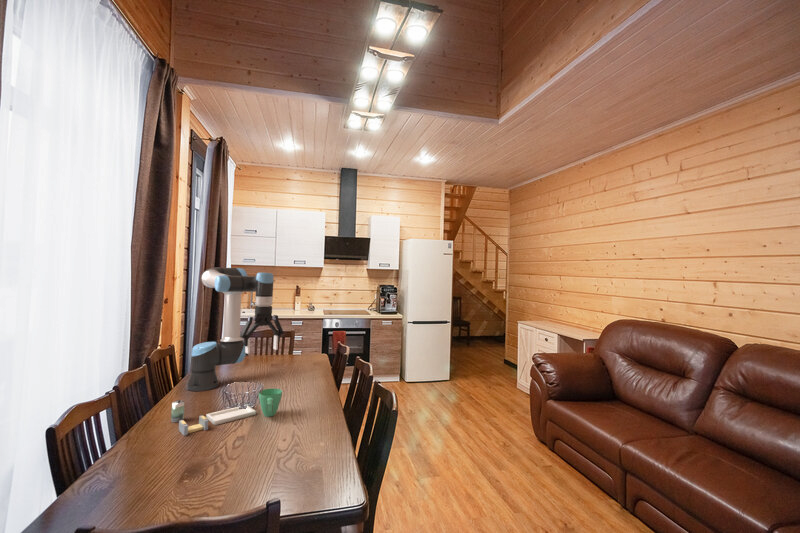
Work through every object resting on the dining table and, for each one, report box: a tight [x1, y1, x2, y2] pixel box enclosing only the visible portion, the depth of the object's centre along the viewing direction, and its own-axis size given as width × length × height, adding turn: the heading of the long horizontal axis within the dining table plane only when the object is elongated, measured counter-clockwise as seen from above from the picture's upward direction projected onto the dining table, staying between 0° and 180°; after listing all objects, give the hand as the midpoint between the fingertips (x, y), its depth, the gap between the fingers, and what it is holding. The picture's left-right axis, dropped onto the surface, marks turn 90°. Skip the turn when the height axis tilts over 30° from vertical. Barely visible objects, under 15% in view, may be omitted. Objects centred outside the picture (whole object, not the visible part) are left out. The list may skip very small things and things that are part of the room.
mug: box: [258, 387, 283, 418], centre depth 157 cm, size 15×10×10 cm
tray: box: [205, 405, 257, 426], centre depth 155 cm, size 10×17×2 cm, turn 136°
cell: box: [170, 399, 185, 423], centre depth 150 cm, size 4×4×8 cm
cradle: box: [178, 415, 209, 437], centre depth 141 cm, size 7×8×4 cm
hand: (261, 351), depth 167 cm, fingers open, 13 cm apart
